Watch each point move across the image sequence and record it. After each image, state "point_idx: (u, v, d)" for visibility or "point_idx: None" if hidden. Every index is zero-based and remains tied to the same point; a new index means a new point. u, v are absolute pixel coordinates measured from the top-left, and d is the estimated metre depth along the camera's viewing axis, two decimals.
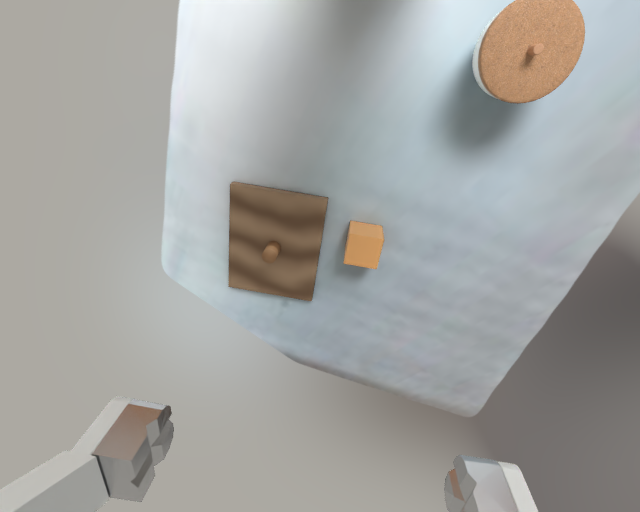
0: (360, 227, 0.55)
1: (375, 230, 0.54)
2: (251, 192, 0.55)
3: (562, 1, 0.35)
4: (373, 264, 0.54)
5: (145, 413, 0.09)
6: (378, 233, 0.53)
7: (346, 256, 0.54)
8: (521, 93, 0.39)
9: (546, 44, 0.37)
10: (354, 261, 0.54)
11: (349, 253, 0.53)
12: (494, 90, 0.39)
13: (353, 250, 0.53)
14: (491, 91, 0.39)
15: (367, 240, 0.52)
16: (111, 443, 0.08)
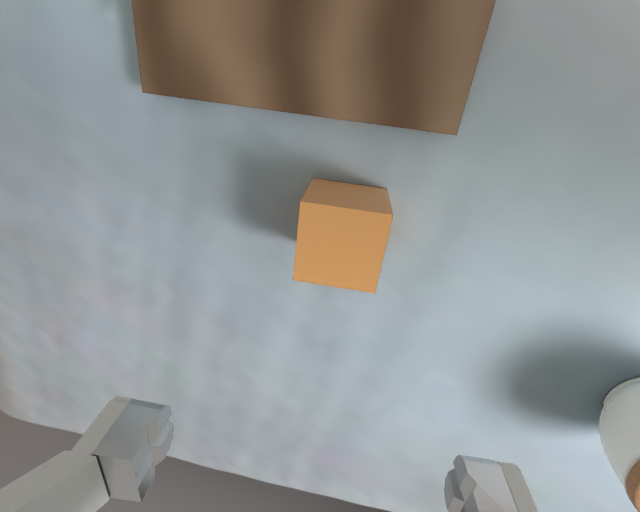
0: None
1: None
2: None
3: None
4: (305, 273, 0.22)
5: (145, 413, 0.09)
6: None
7: (322, 208, 0.19)
8: None
9: None
10: (309, 229, 0.20)
11: (332, 216, 0.20)
12: None
13: (343, 226, 0.20)
14: None
15: (371, 258, 0.21)
16: (111, 443, 0.08)
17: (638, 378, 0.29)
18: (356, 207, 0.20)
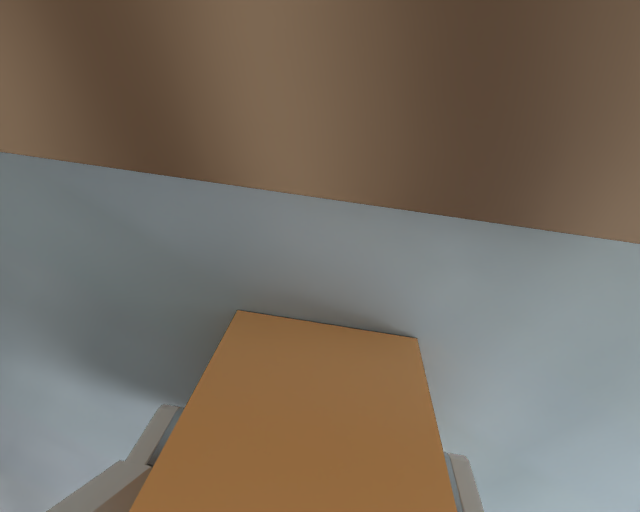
0: None
1: None
2: None
3: None
4: None
5: None
6: None
7: None
8: None
9: None
10: None
11: None
12: None
13: None
14: None
15: None
16: None
17: None
18: None
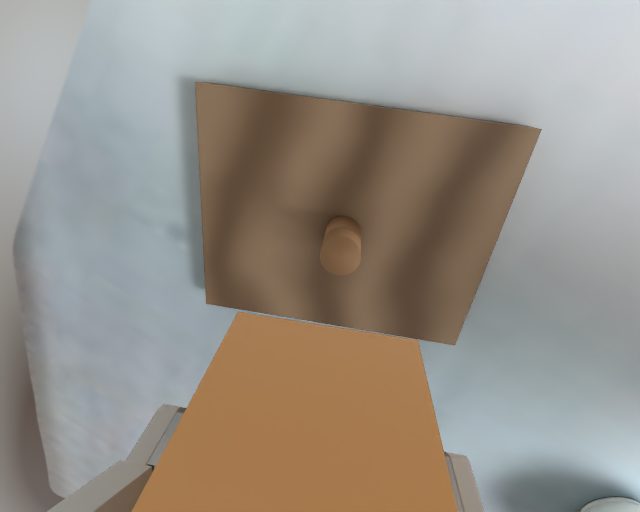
0: None
1: None
2: (503, 188, 0.20)
3: None
4: None
5: None
6: None
7: None
8: None
9: None
10: None
11: None
12: None
13: None
14: None
15: None
16: None
17: (607, 499, 0.34)
18: None
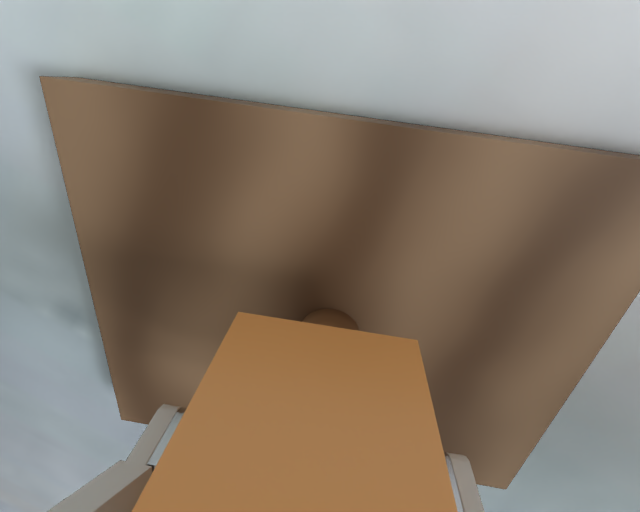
0: None
1: None
2: (622, 274, 0.11)
3: None
4: None
5: None
6: None
7: None
8: None
9: None
10: None
11: None
12: None
13: None
14: None
15: None
16: None
17: None
18: None
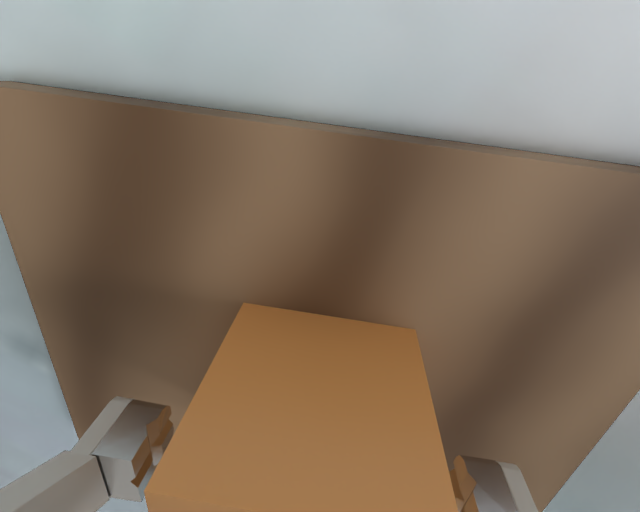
0: None
1: None
2: None
3: None
4: None
5: (145, 413, 0.09)
6: None
7: None
8: None
9: None
10: None
11: None
12: None
13: None
14: None
15: None
16: (111, 443, 0.08)
17: None
18: (339, 497, 0.06)
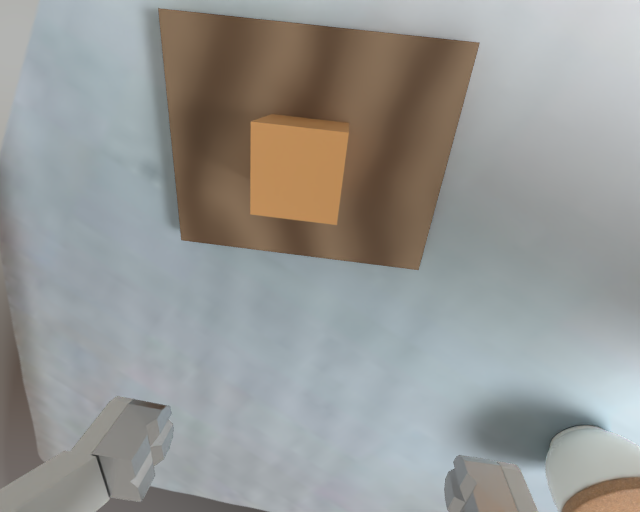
0: None
1: None
2: (450, 104, 0.22)
3: None
4: (262, 205, 0.20)
5: (145, 413, 0.09)
6: None
7: (275, 128, 0.18)
8: None
9: None
10: (262, 153, 0.19)
11: (285, 137, 0.19)
12: (595, 501, 0.30)
13: (298, 148, 0.19)
14: (593, 498, 0.30)
15: (330, 184, 0.20)
16: (111, 443, 0.08)
17: (574, 427, 0.36)
18: (311, 127, 0.19)
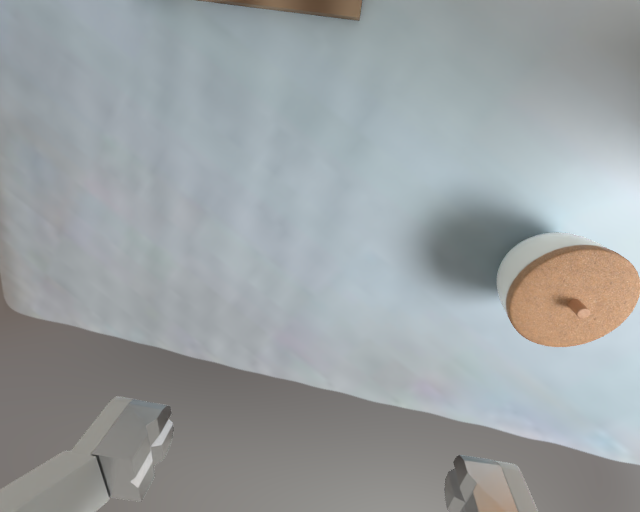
0: None
1: None
2: None
3: (617, 321, 0.31)
4: None
5: (145, 413, 0.09)
6: None
7: None
8: (523, 301, 0.31)
9: (575, 315, 0.31)
10: None
11: None
12: (535, 272, 0.29)
13: None
14: (534, 268, 0.29)
15: None
16: (111, 443, 0.08)
17: None
18: None
